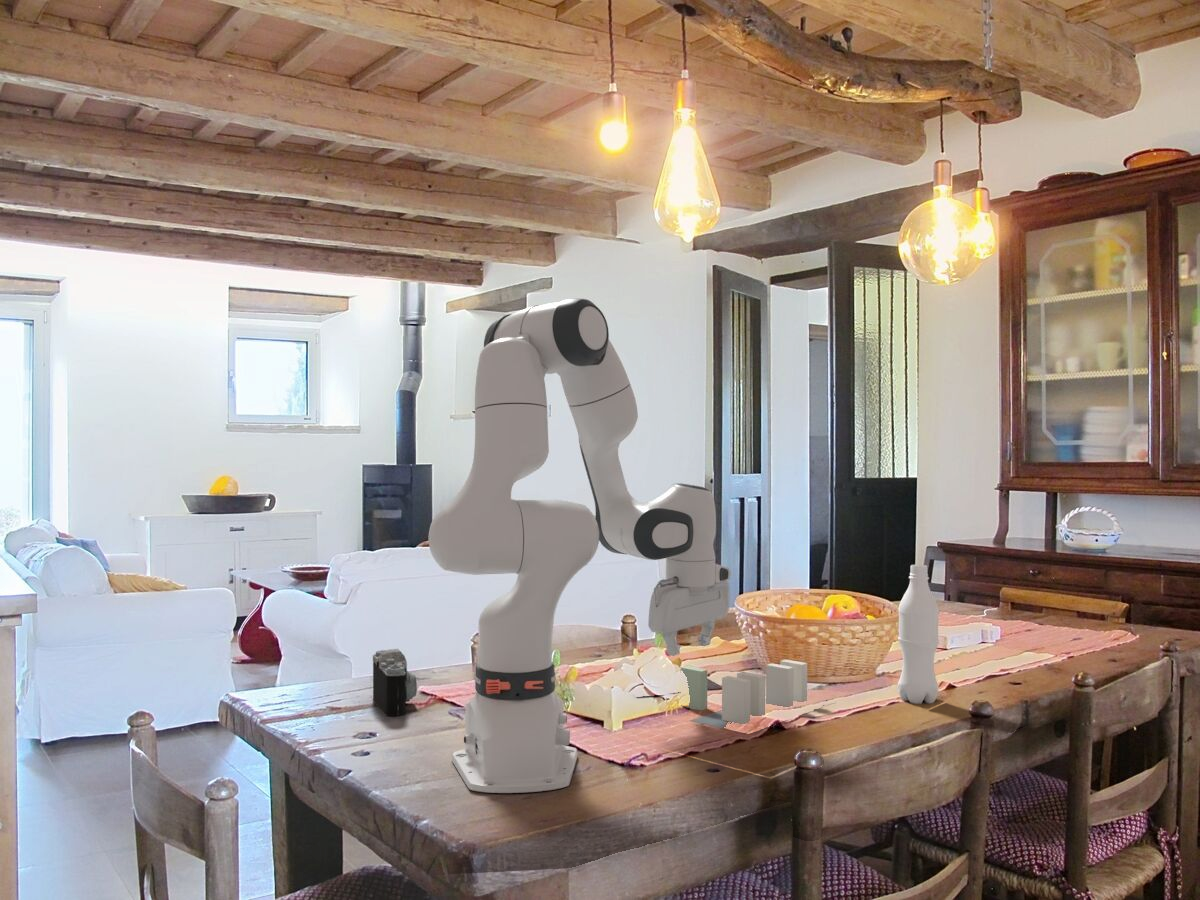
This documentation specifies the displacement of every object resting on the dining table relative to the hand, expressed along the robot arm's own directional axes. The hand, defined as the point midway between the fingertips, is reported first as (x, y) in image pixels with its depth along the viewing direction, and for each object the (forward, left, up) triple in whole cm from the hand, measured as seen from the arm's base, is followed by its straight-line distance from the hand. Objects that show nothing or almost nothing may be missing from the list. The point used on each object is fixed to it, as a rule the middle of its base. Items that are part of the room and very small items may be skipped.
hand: (689, 650), depth 187 cm
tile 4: (-3, -16, -10) cm, 19 cm away
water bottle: (-2, -43, -10) cm, 44 cm away
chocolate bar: (+13, 0, -11) cm, 17 cm away
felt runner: (-6, -13, -10) cm, 17 cm away
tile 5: (0, -19, -10) cm, 22 cm away
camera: (+6, +52, -11) cm, 54 cm away
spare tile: (-2, -1, -10) cm, 10 cm away
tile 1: (-12, -6, -10) cm, 16 cm away
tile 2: (-9, -9, -10) cm, 16 cm away
